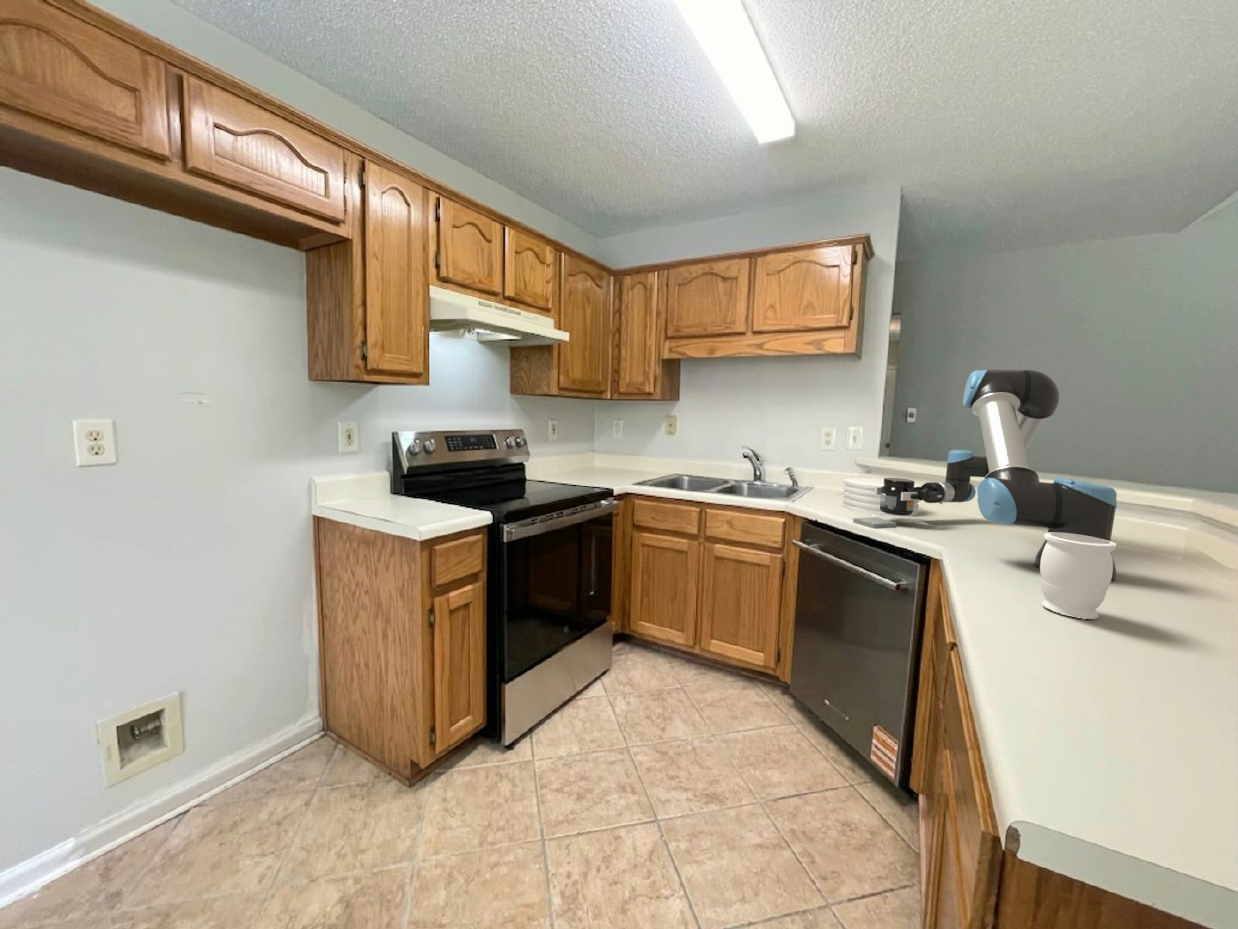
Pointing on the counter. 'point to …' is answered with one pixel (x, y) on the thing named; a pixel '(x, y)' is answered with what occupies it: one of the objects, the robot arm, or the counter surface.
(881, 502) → the supplement container
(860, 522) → the tile
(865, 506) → the plate stack
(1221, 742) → the counter surface
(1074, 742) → the counter surface
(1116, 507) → the robot arm
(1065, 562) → the jar
